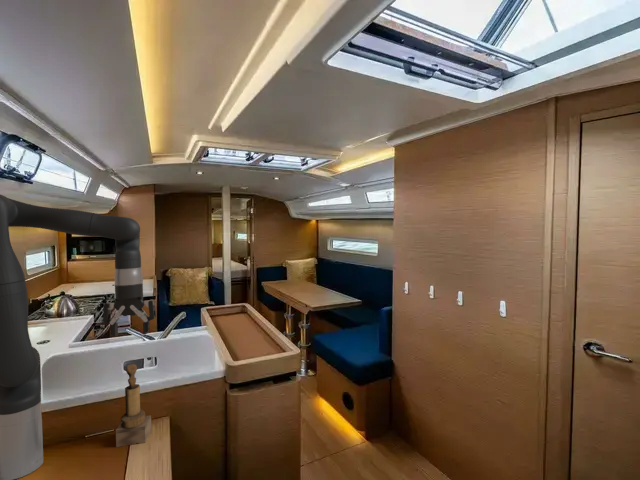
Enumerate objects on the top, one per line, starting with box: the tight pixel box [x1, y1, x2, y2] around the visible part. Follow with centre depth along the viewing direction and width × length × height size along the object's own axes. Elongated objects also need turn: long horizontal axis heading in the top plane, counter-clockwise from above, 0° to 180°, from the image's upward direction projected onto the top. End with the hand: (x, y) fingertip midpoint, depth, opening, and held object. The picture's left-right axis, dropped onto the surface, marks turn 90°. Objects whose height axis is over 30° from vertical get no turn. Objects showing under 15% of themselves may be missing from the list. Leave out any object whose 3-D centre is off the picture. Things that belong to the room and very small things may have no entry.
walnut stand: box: [115, 415, 152, 448], centre depth 104 cm, size 8×6×5 cm
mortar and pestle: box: [120, 363, 146, 428], centre depth 104 cm, size 7×6×18 cm
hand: (130, 334), depth 104 cm, fingers open, 8 cm apart
